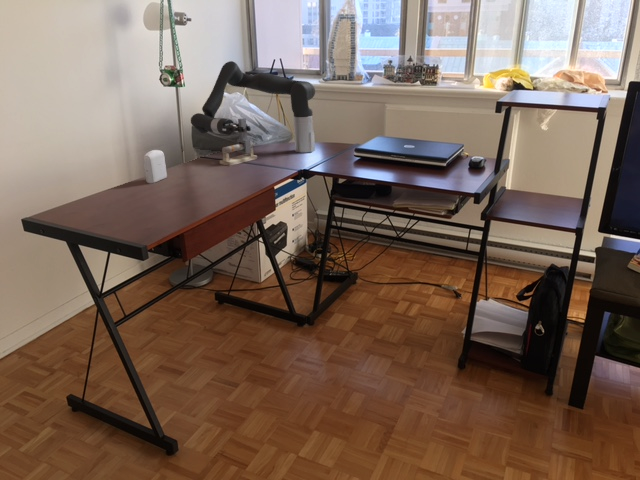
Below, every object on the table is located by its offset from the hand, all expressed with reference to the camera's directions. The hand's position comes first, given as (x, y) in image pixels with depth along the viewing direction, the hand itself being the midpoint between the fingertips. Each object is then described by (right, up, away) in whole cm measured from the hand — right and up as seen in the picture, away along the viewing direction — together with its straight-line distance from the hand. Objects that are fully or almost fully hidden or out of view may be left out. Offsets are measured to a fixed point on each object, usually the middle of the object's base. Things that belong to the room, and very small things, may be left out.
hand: (246, 129), depth 250 cm
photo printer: (-34, -26, -25) cm, 50 cm away
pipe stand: (-4, -14, +4) cm, 15 cm away
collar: (-2, -10, +6) cm, 11 cm away
